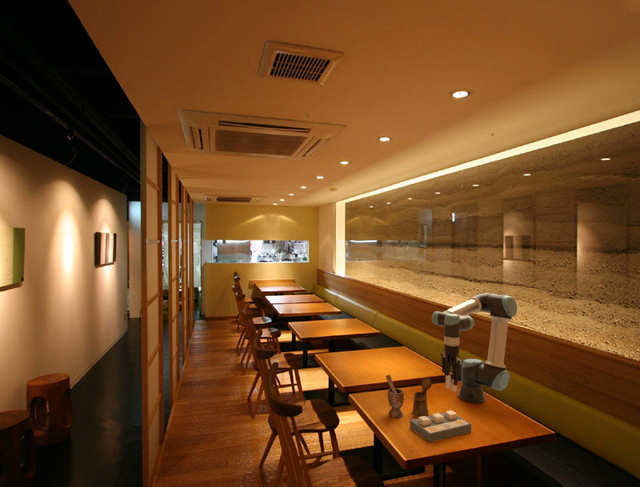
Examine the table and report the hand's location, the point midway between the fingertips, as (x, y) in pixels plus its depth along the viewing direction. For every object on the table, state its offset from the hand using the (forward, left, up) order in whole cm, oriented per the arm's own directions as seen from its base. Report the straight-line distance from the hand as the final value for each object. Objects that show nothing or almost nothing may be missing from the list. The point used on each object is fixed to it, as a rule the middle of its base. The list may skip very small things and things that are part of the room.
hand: (451, 389), depth 194 cm
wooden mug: (+4, -17, -19) cm, 26 cm away
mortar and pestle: (+20, -22, -19) cm, 35 cm away
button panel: (+8, +2, -19) cm, 21 cm away
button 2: (0, 0, -16) cm, 16 cm away
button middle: (+9, 0, -16) cm, 18 cm away
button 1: (+17, 0, -16) cm, 23 cm away
